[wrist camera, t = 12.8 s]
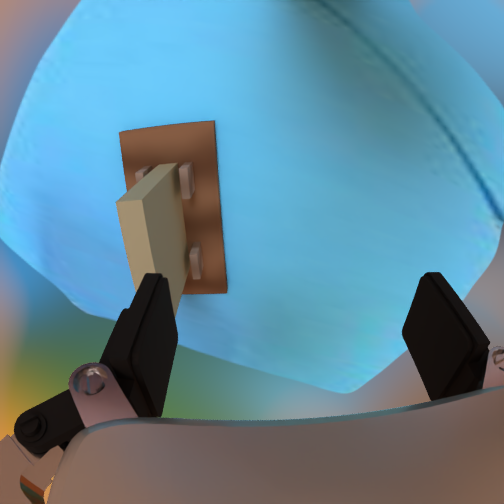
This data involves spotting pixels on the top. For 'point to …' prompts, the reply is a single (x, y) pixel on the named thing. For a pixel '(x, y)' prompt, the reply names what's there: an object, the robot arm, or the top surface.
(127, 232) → the cabinet door
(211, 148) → the hinge base
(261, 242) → the top surface
